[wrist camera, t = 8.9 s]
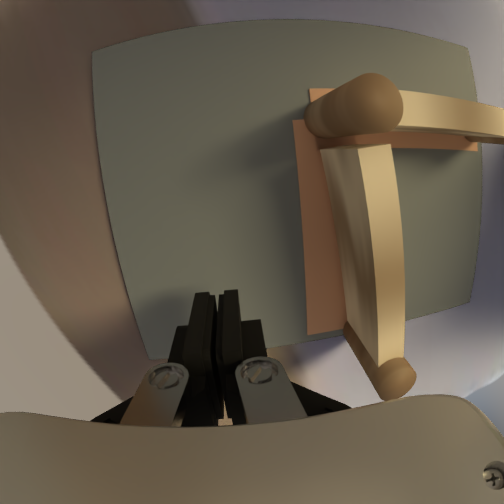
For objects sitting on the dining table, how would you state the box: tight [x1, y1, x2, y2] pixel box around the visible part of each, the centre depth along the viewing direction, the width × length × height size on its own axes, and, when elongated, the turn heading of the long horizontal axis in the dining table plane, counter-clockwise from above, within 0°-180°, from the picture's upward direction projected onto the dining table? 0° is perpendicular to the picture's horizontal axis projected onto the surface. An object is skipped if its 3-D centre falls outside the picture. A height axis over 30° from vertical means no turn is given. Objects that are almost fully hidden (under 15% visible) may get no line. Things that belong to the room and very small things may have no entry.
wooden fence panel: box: [303, 73, 504, 144], centre depth 10 cm, size 11×2×5 cm, turn 96°
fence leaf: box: [320, 144, 416, 401], centre depth 12 cm, size 10×2×5 cm, turn 14°
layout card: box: [92, 19, 482, 360], centre depth 13 cm, size 20×16×1 cm
